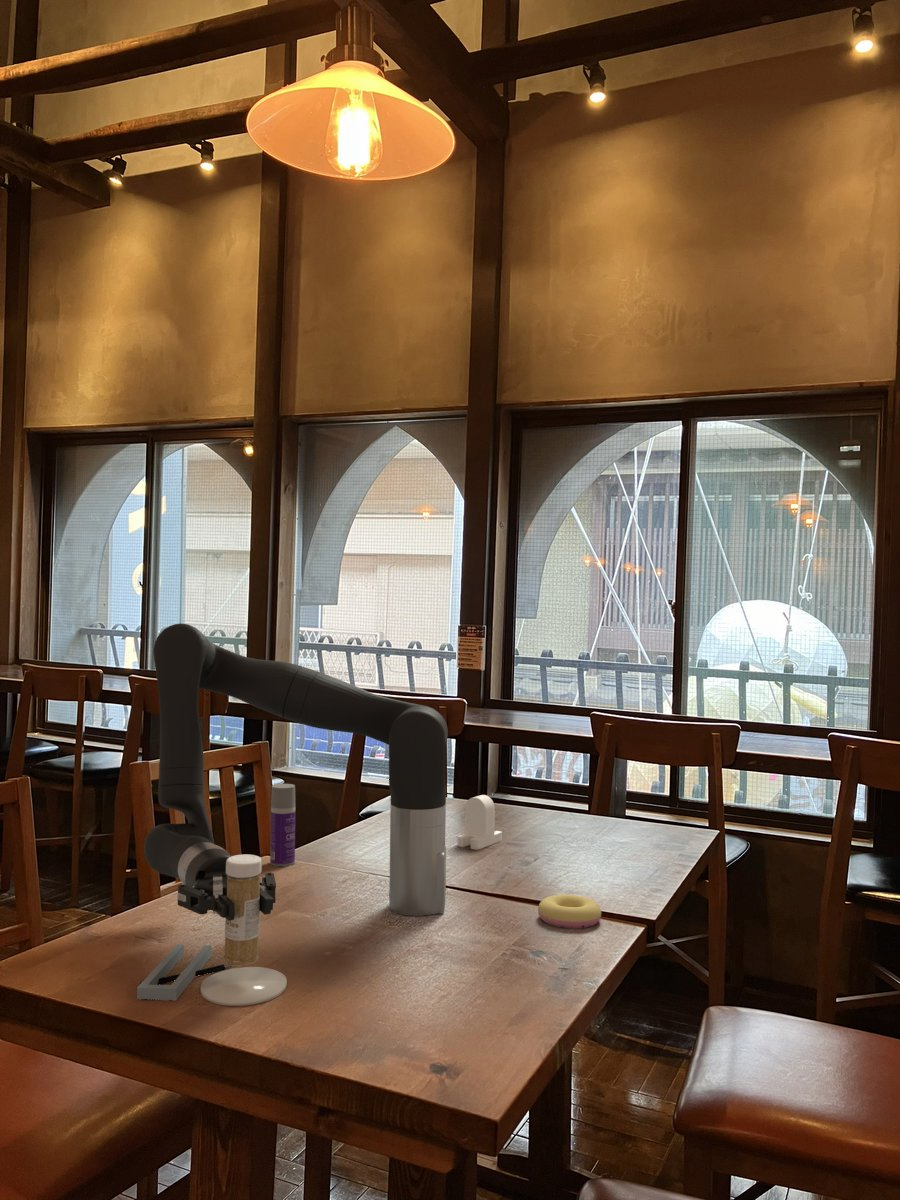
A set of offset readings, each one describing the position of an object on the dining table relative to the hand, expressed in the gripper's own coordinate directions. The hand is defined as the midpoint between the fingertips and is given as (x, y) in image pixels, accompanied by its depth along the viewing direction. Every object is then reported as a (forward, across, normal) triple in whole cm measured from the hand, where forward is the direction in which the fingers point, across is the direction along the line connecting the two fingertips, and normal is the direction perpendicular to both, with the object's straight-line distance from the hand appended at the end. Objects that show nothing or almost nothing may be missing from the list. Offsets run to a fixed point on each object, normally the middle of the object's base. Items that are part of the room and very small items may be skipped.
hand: (250, 909), depth 120 cm
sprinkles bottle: (-3, 0, +8) cm, 8 cm away
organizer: (-50, +68, +12) cm, 85 cm away
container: (-55, +26, +12) cm, 62 cm away
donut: (-2, +54, +11) cm, 55 cm away
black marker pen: (-10, -5, +12) cm, 16 cm away
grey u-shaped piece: (-11, -6, +11) cm, 17 cm away
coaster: (-2, 0, +11) cm, 11 cm away
